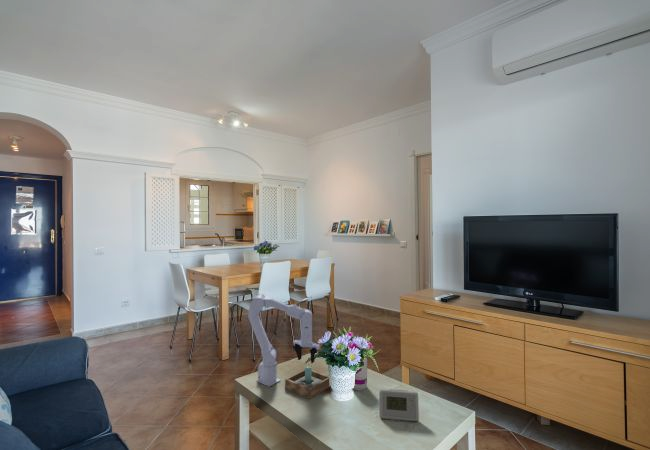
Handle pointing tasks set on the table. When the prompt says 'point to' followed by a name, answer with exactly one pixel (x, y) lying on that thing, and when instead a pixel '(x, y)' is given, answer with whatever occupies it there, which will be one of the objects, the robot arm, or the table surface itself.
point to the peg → (308, 375)
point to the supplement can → (361, 377)
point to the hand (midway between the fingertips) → (306, 360)
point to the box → (307, 390)
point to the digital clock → (398, 405)
